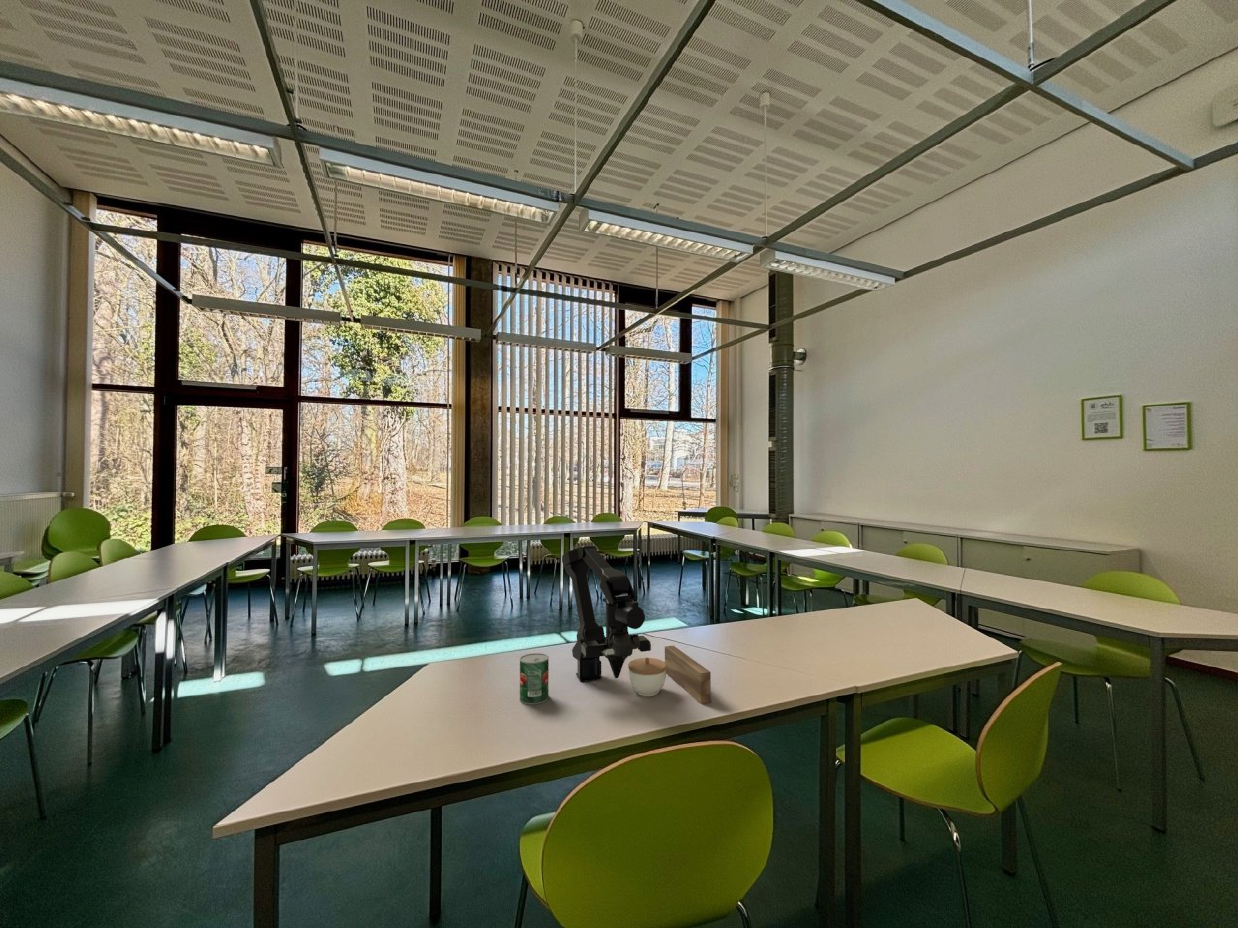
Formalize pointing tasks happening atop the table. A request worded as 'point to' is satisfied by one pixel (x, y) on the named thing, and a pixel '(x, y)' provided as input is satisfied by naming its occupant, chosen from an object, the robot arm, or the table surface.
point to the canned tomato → (534, 678)
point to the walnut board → (688, 674)
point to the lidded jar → (647, 675)
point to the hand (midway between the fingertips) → (616, 677)
